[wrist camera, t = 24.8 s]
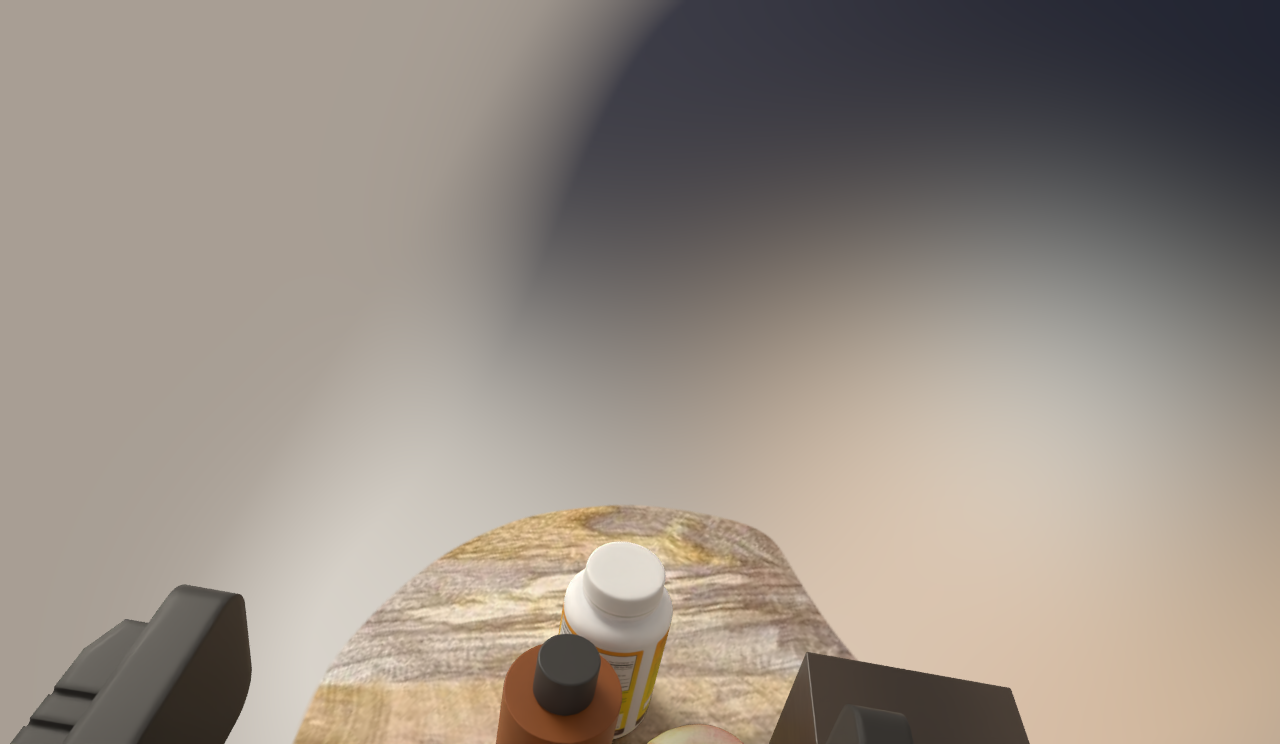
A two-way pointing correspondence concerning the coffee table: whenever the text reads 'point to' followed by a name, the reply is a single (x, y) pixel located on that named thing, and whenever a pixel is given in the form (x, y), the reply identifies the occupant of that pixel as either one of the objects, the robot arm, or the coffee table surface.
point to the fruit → (696, 736)
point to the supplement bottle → (623, 620)
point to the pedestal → (897, 703)
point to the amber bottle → (560, 695)
